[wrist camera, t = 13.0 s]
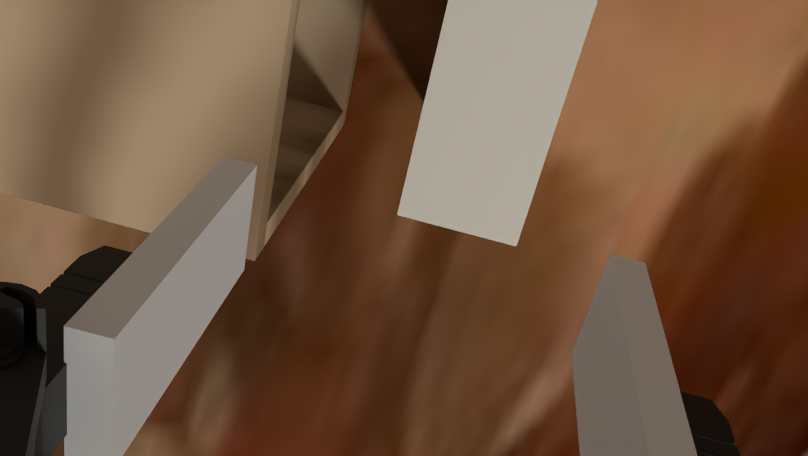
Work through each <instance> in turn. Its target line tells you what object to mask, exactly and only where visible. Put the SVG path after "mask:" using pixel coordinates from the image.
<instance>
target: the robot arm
mask: <svg viewBox="0 0 808 456" xmlns="http://www.w3.org/2000/svg"><path fill="white" fill-rule="evenodd" d="M256 171H257V165H255V164H251V163H247V162H244V161H240V160H236V159H232V158H228V157H223V158H222V159H221V160H220V161H219V162H218V163H217V164H216V165H215V166H214V167H213V168H212V169H211V171H210V172H209V173H208V174H207V175H206V176H205V177H204V178H203V179H202V180H201V181H200V182H199V183H198V184H197V185H196V186H195V187H194V189H193V190H192V191H191V192H190V193H189V194H188V195H187V196H186V197H185V198H184V199H183V200H182V201H181V202H180V203H179V204H178V205H177V207H176V208H175V209H174V210H173V211H172V212H171V213H170V214H169V215H168V216H167V217H166V218H165V219H164V220H163V221H162V222H161V224H160V225H159V226H158V227H157V228H156V229H155V230H154V231H153V232H152V233H151V234H150V235H149V236H148V237H147V238H146V239H145V240H144V242H143V243H142V244H141V245H140V246H139V247H138V248H137V249H136V250H135V251H134V252H133V253H132V252H128V251H124V250H120V249H116V248H112V247H108V246H103V247H100V248H98V249H96V250H93V251H91V252H89V253H86V254H84V255H82V256H80V257H79V258H78V259H77V260H76V261H75V262H73V263H72V264H71V265H70V266H69V267H68V268H67V269H66V270H65V271H64V274H63V275H62V274H61V275H60V276H59V277H58V278H57V279H55V280H54V281H53V282H52V283H51V286H50V287H47V288H46V289H45V290H44V291H43V292H42V293H41V294H39V293H38V292H37V291H36V290H35V289H32V288H30V287H27V286H25V285H22V284H17V283H9V282H0V456H51V455H52V453H53V452H54V451H55V449H56V448H57V447H58V445H59V444H60V443H61V442H62V440H63V439H64V456H123V455H124V453H125V451H126V450H127V448H128V447H129V445H130V444H131V442H132V441H133V439H134V438H135V436H136V435H137V433H138V432H139V430H140V428H141V427H142V425H143V424H144V422H145V421H146V419H147V418H148V416H149V415H150V413H151V412H152V410H153V409H154V407H155V405H156V404H157V402H158V401H159V399H160V398H161V396H162V395H163V393H164V392H165V390H166V389H167V387H168V386H169V384H170V382H171V381H172V379H173V378H174V376H175V375H176V373H177V372H178V370H179V369H180V367H181V366H182V364H183V363H184V361H185V360H186V358H187V356H188V355H189V353H190V352H191V350H192V349H193V347H194V346H195V344H196V343H197V341H198V340H199V338H200V337H201V335H202V333H203V332H204V330H205V329H206V327H207V326H208V324H209V323H210V321H211V320H212V318H213V317H214V315H215V314H216V312H217V310H218V309H219V307H220V306H221V304H222V303H223V301H224V300H225V298H226V297H227V295H228V294H229V292H230V291H231V289H232V287H233V286H234V284H235V283H236V281H237V280H238V278H239V277H240V275H241V274H242V272H243V271H244V266H245V259H246V251H247V243H248V235H249V227H250V219H251V211H252V203H253V195H254V187H255V179H256ZM572 364H573V377H574V389H575V401H576V413H577V425H578V437H579V449H580V456H740V453H739V451H738V448H737V447H735V444H736V442H735V439H734V436H733V433H732V430H731V427H730V424H729V421H728V420H727V419H726V418H725V416H724V415H723V414H722V413H721V411H720V410H719V409H718V408H717V406H716V405H715V404H714V403H713V401H712V400H711V399H707V398H703V397H699V396H695V395H691V394H688V393H684V392H680V390H679V386H678V382H677V379H676V375H675V371H674V368H673V364H672V360H671V357H670V353H669V349H668V345H667V342H666V338H665V334H664V331H663V327H662V323H661V320H660V316H659V312H658V309H657V305H656V301H655V298H654V294H653V290H652V286H651V283H650V279H649V275H648V272H647V268H646V264H645V263H644V262H640V261H636V260H632V259H628V258H624V257H620V256H616V255H612V254H610V256H609V259H608V261H607V264H606V267H605V269H604V272H603V274H602V277H601V279H600V282H599V285H598V287H597V290H596V292H595V295H594V297H593V300H592V303H591V305H590V308H589V310H588V313H587V315H586V318H585V321H584V323H583V326H582V328H581V331H580V333H579V336H578V339H577V341H576V344H575V346H574V349H573V351H572Z"/></svg>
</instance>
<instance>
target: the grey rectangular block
mask: <svg viewBox="0 0 808 456" xmlns="http://www.w3.org/2000/svg"><path fill="white" fill-rule="evenodd" d="M597 1H598V0H448V3H447V7H446V12H445V16H444V20H443V24H442V28H441V33H440V37H439V41H438V45H437V49H436V54H435V58H434V62H433V66H432V71H431V75H430V79H429V83H428V87H427V92H426V96H425V100H424V104H423V108H422V113H421V117H420V121H419V125H418V129H417V134H416V138H415V142H414V146H413V150H412V155H411V159H410V163H409V167H408V171H407V176H406V180H405V184H404V188H403V192H402V197H401V201H400V205H399V209H398V214H397V215H399V216H403V217H407V218H410V219H414V220H418V221H422V222H426V223H429V224H433V225H437V226H441V227H444V228H448V229H452V230H456V231H460V232H463V233H467V234H471V235H475V236H479V237H482V238H486V239H490V240H494V241H497V242H501V243H505V244H509V245H513V246H517V243H518V240H519V237H520V234H521V231H522V228H523V225H524V222H525V219H526V216H527V213H528V210H529V207H530V204H531V201H532V198H533V195H534V192H535V189H536V186H537V183H538V180H539V176H540V173H541V170H542V167H543V164H544V161H545V158H546V155H547V152H548V149H549V146H550V143H551V140H552V137H553V134H554V131H555V128H556V125H557V122H558V119H559V116H560V113H561V110H562V107H563V104H564V101H565V98H566V95H567V92H568V89H569V86H570V83H571V80H572V77H573V74H574V71H575V68H576V65H577V62H578V59H579V56H580V53H581V50H582V47H583V43H584V40H585V37H586V34H587V31H588V28H589V25H590V22H591V19H592V16H593V13H594V10H595V7H596V4H597Z"/></svg>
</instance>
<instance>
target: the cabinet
mask: <svg viewBox="0 0 808 456" xmlns="http://www.w3.org/2000/svg"><path fill="white" fill-rule="evenodd" d="M367 1H368V0H0V193H4V194H8V195H11V196H15V197H19V198H23V199H26V200H30V201H34V202H37V203H41V204H45V205H49V206H52V207H56V208H60V209H63V210H67V211H71V212H75V213H78V214H82V215H86V216H89V217H93V218H97V219H101V220H104V221H108V222H112V223H115V224H119V225H123V226H126V227H130V228H134V229H138V230H141V231H145V232H149V233H152V232H153V231H154V230H155V229H156V228H157V227H158V226H159V225H160V224H161V222H162V221H163V220H164V219H165V218H166V217H167V216H168V215H169V214H170V213H171V212H172V211H173V210H174V209H175V208H176V207H177V205H178V204H179V203H180V202H181V201H182V200H183V199H184V198H185V197H186V196H187V195H188V194H189V193H190V192H191V191H192V190H193V189H194V187H195V186H196V185H197V184H198V183H199V182H200V181H201V180H202V179H203V178H204V177H205V176H206V175H207V174H208V173H209V172H210V171H211V169H212V168H213V167H214V166H215V165H216V164H217V163H218V162H219V161H220V160H221V159H222V158H223V157H228V158H232V159H236V160H240V161H244V162H247V163H251V164H255V165H257V171H256V179H255V187H254V195H253V203H252V211H251V219H250V227H249V235H248V243H247V251H246V259H249V260H253V261H255V260H256V258H257V257H258V255H259V254H260V252H261V251H262V249H263V247H264V246H265V244H266V243H267V241H268V240H269V238H270V237H271V235H272V234H273V232H274V231H275V229H276V228H277V226H278V224H279V223H280V221H281V220H282V218H283V217H284V215H285V214H286V212H287V211H288V209H289V208H290V206H291V205H292V203H293V201H294V200H295V198H296V197H297V195H298V194H299V192H300V191H301V189H302V188H303V186H304V185H305V183H306V182H307V180H308V179H309V177H310V175H311V174H312V172H313V171H314V169H315V168H316V166H317V165H318V163H319V162H320V160H321V159H322V157H323V156H324V154H325V152H326V151H327V149H328V148H329V146H330V145H331V143H332V142H333V140H334V139H335V137H336V136H337V134H338V133H339V131H340V129H341V128H342V126H343V125H344V123H345V117H346V112H347V107H348V101H349V96H350V91H351V86H352V80H353V75H354V70H355V64H356V59H357V54H358V49H359V43H360V38H361V33H362V27H363V22H364V17H365V12H366V6H367Z"/></svg>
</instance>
